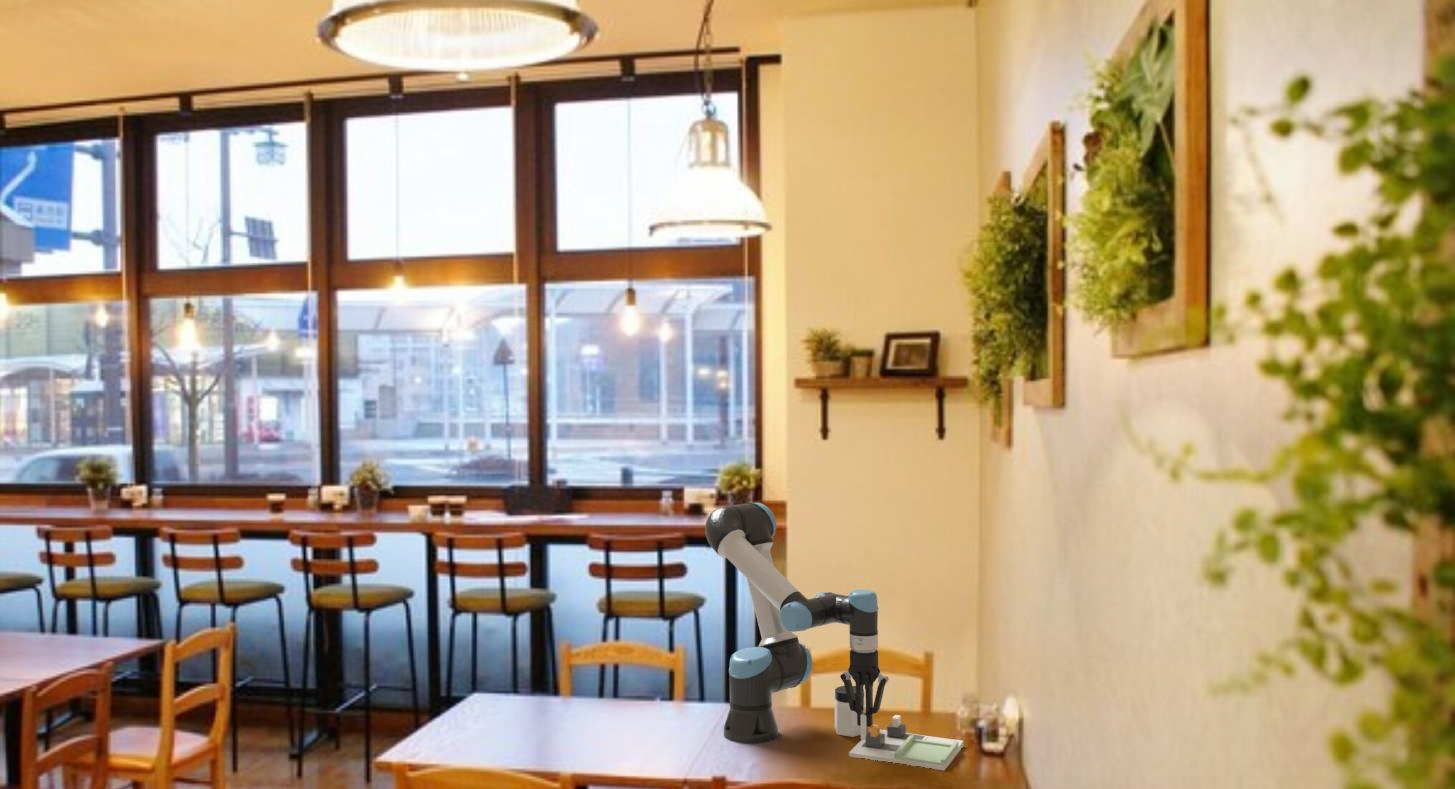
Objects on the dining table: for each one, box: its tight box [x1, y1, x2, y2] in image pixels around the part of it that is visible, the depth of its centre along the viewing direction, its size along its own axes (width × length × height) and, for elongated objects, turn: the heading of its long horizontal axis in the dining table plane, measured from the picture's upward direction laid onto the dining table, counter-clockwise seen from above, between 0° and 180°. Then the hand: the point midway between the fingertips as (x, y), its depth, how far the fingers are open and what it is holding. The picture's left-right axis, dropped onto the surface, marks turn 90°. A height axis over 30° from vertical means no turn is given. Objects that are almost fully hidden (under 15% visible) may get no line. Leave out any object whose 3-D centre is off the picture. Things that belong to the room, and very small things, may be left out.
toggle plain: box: [886, 714, 907, 738], centre depth 293 cm, size 4×4×5 cm
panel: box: [848, 729, 964, 772], centre depth 284 cm, size 25×21×3 cm
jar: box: [834, 685, 866, 738], centre depth 300 cm, size 9×8×12 cm
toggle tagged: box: [866, 723, 885, 748], centre depth 285 cm, size 4×4×5 cm
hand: (865, 737), depth 286 cm, fingers closed
